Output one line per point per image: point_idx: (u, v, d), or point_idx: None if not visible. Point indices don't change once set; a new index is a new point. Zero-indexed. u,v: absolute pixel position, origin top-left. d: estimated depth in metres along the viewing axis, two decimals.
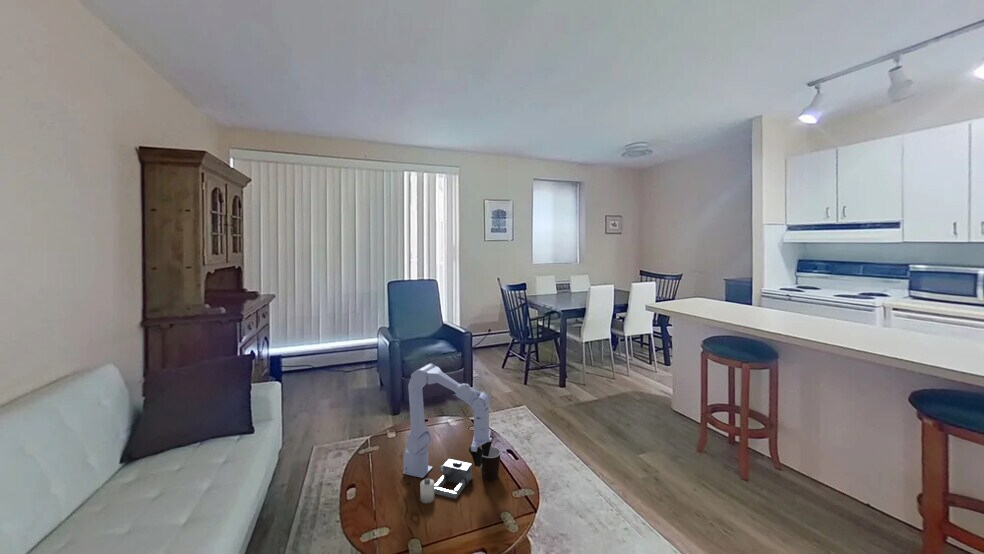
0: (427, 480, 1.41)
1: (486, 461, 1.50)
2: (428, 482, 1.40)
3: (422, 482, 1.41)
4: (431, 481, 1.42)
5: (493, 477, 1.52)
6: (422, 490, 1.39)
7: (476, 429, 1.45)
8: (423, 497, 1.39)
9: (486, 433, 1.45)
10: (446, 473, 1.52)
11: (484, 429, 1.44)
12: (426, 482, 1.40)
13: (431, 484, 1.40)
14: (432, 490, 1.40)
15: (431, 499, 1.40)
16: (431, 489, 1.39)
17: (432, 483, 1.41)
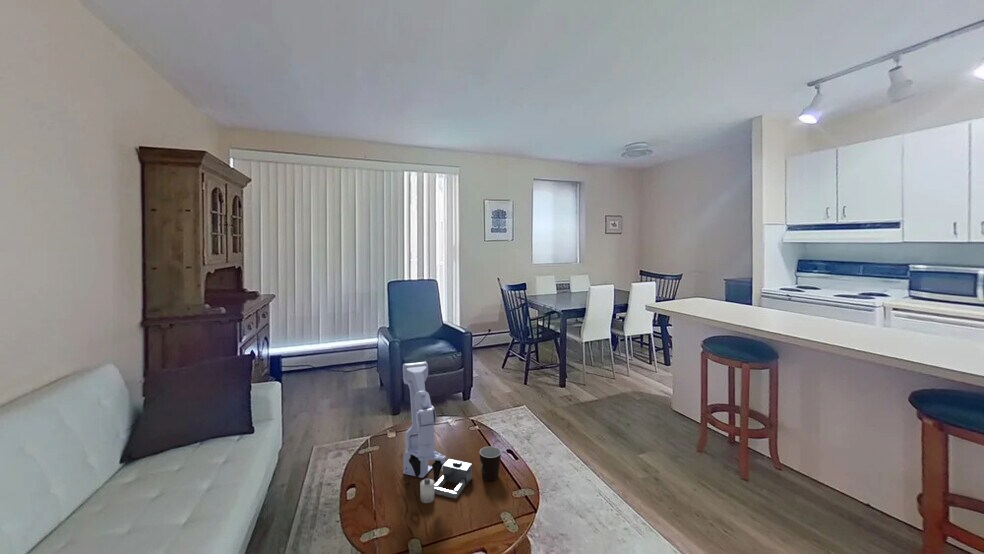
0: (427, 480, 1.41)
1: (486, 461, 1.50)
2: (428, 482, 1.40)
3: (422, 482, 1.41)
4: (431, 481, 1.42)
5: (493, 477, 1.52)
6: (422, 490, 1.39)
7: None
8: (423, 497, 1.39)
9: (419, 449, 1.38)
10: (446, 473, 1.52)
11: (418, 443, 1.39)
12: (426, 482, 1.40)
13: (431, 484, 1.40)
14: (432, 490, 1.40)
15: (431, 499, 1.40)
16: (431, 489, 1.39)
17: (432, 483, 1.41)
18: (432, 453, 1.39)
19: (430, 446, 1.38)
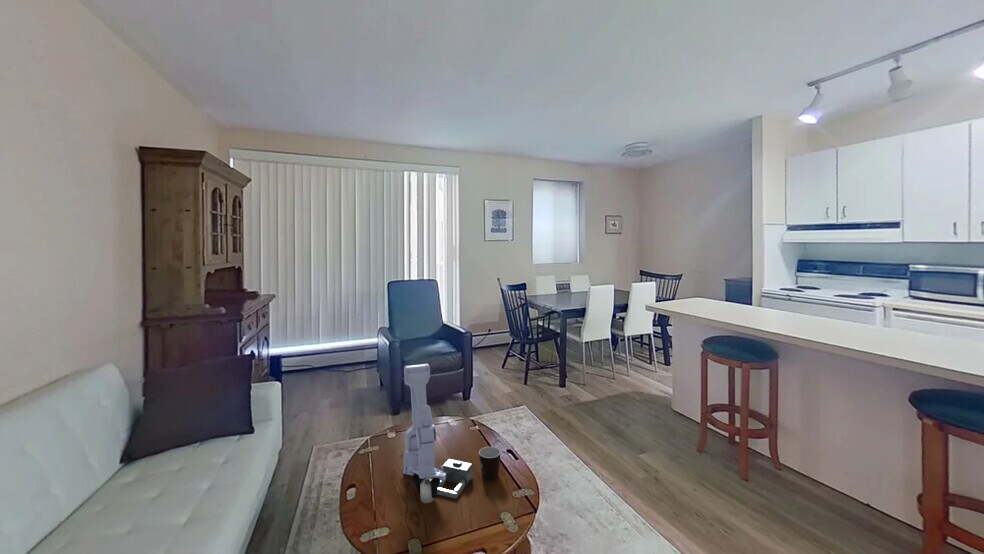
0: (427, 480, 1.41)
1: (486, 461, 1.50)
2: (428, 482, 1.40)
3: (422, 482, 1.41)
4: None
5: (493, 477, 1.52)
6: (422, 490, 1.39)
7: None
8: (423, 497, 1.39)
9: (420, 467, 1.39)
10: (446, 473, 1.52)
11: (419, 461, 1.39)
12: (426, 482, 1.40)
13: None
14: None
15: (431, 499, 1.40)
16: None
17: None
18: (432, 470, 1.39)
19: (430, 464, 1.38)
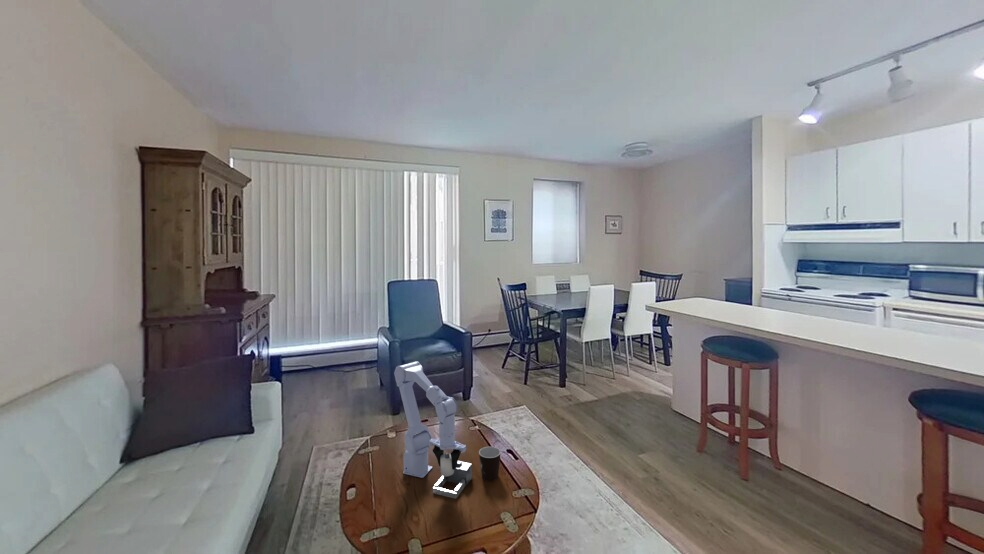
0: (447, 454, 1.45)
1: (486, 461, 1.50)
2: (448, 456, 1.44)
3: (442, 456, 1.46)
4: None
5: (493, 477, 1.52)
6: (442, 463, 1.44)
7: None
8: (443, 470, 1.43)
9: (441, 439, 1.43)
10: None
11: (439, 433, 1.44)
12: (446, 456, 1.44)
13: (451, 458, 1.44)
14: None
15: (451, 472, 1.44)
16: (450, 463, 1.44)
17: None
18: (453, 443, 1.44)
19: (451, 436, 1.43)
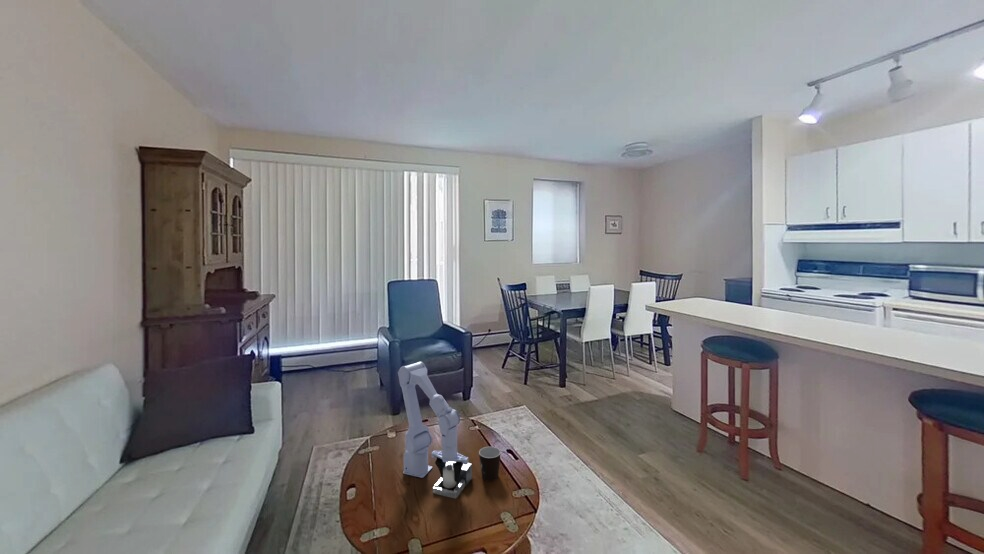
0: (449, 466, 1.46)
1: (486, 461, 1.50)
2: (450, 468, 1.45)
3: (444, 468, 1.47)
4: None
5: (493, 477, 1.52)
6: (444, 475, 1.44)
7: None
8: (446, 482, 1.44)
9: (443, 451, 1.44)
10: None
11: (442, 445, 1.45)
12: (448, 468, 1.45)
13: (453, 470, 1.45)
14: (454, 476, 1.45)
15: (453, 484, 1.45)
16: (453, 475, 1.45)
17: None
18: (455, 455, 1.45)
19: (453, 448, 1.44)
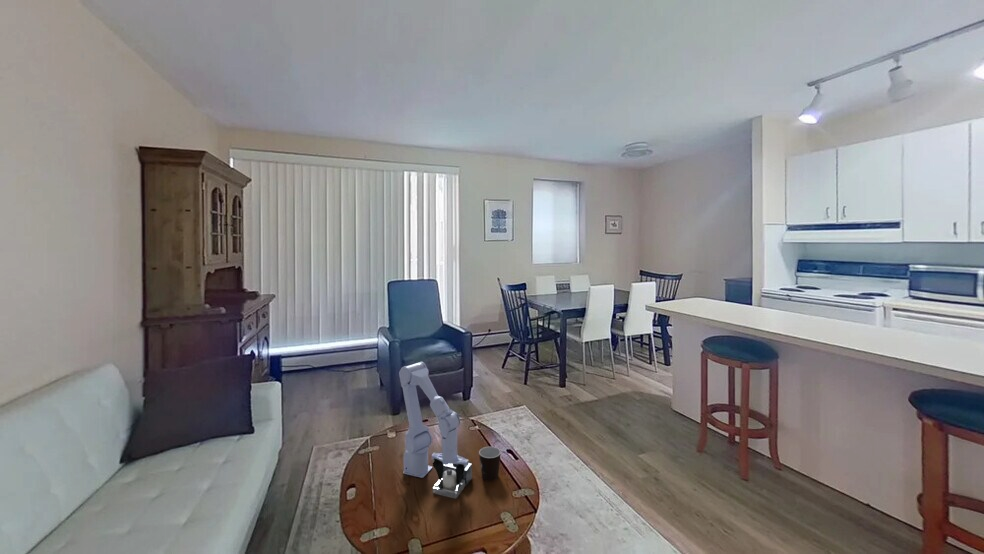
0: (449, 471, 1.46)
1: (486, 461, 1.50)
2: (450, 473, 1.46)
3: (444, 473, 1.47)
4: (453, 472, 1.47)
5: (493, 477, 1.52)
6: (444, 480, 1.45)
7: None
8: (445, 487, 1.45)
9: (443, 453, 1.44)
10: None
11: (442, 448, 1.45)
12: (448, 473, 1.46)
13: (453, 475, 1.46)
14: (454, 481, 1.45)
15: (453, 489, 1.45)
16: (453, 480, 1.45)
17: (454, 474, 1.46)
18: (455, 457, 1.45)
19: (453, 450, 1.44)
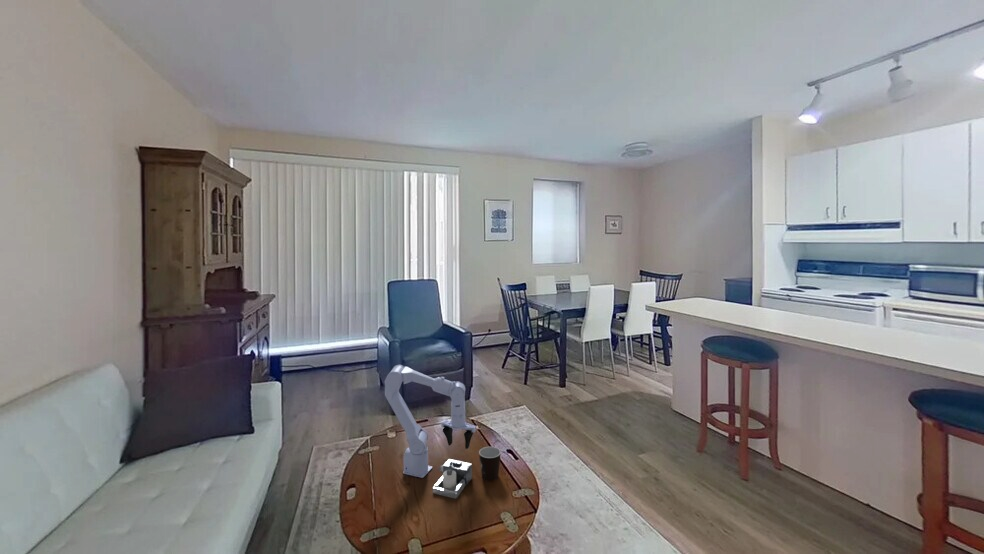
0: (449, 471, 1.46)
1: (486, 461, 1.50)
2: (450, 473, 1.46)
3: (444, 473, 1.47)
4: (453, 472, 1.47)
5: (493, 477, 1.52)
6: (444, 480, 1.45)
7: None
8: (445, 487, 1.45)
9: (452, 420, 1.55)
10: None
11: (451, 415, 1.56)
12: (448, 473, 1.46)
13: (453, 475, 1.46)
14: (454, 481, 1.45)
15: (453, 489, 1.45)
16: (453, 480, 1.45)
17: (454, 474, 1.46)
18: (464, 423, 1.56)
19: (462, 417, 1.55)
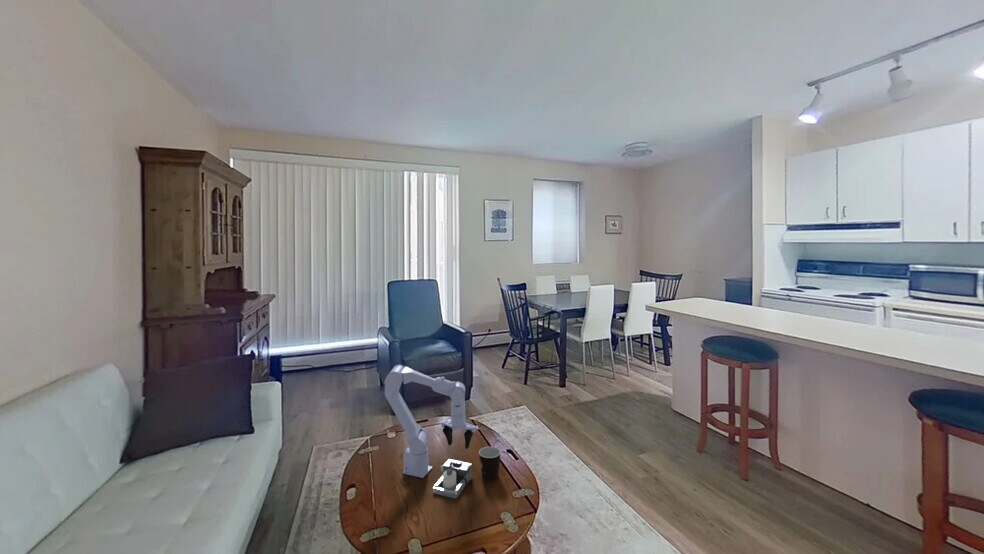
0: (449, 471, 1.46)
1: (486, 461, 1.50)
2: (450, 473, 1.46)
3: (444, 473, 1.47)
4: (453, 472, 1.47)
5: (493, 477, 1.52)
6: (444, 480, 1.45)
7: None
8: (445, 487, 1.45)
9: (452, 420, 1.55)
10: None
11: (451, 415, 1.56)
12: (448, 473, 1.46)
13: (453, 475, 1.46)
14: (454, 481, 1.45)
15: (453, 489, 1.45)
16: (453, 480, 1.45)
17: (454, 474, 1.46)
18: (464, 423, 1.56)
19: (462, 417, 1.55)
